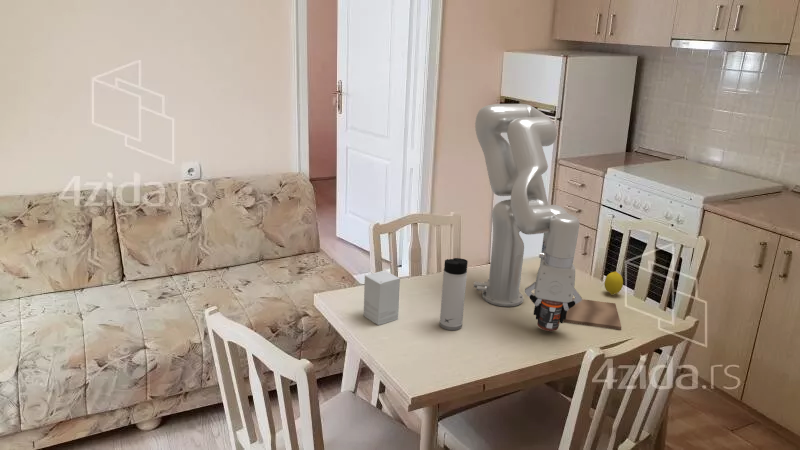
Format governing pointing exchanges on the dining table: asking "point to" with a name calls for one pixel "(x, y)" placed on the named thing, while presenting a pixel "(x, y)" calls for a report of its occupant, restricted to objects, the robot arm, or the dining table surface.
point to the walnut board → (594, 314)
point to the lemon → (613, 282)
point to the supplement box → (381, 297)
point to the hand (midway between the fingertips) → (549, 318)
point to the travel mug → (453, 293)
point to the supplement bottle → (549, 315)
